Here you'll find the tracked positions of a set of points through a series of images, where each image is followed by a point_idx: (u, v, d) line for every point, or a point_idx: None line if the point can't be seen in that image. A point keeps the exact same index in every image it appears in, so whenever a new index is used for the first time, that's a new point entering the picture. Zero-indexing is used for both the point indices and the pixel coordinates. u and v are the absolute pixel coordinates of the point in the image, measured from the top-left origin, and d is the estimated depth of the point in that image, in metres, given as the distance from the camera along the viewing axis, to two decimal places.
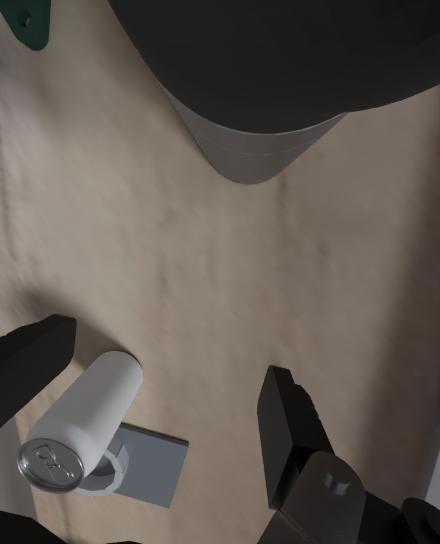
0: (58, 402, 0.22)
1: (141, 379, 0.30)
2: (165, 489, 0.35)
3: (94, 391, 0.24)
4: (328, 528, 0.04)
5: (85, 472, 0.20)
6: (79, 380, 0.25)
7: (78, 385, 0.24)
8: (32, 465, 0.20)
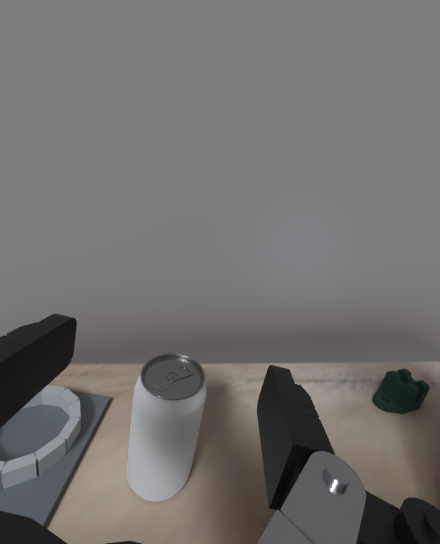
0: None
1: (159, 497, 0.22)
2: None
3: (200, 424, 0.23)
4: (328, 528, 0.04)
5: (165, 402, 0.19)
6: None
7: None
8: (167, 362, 0.23)
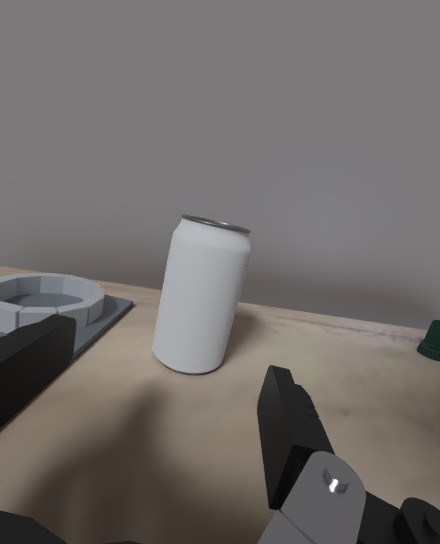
0: None
1: (191, 366, 0.19)
2: None
3: (240, 291, 0.20)
4: (328, 528, 0.04)
5: (211, 229, 0.17)
6: None
7: None
8: None
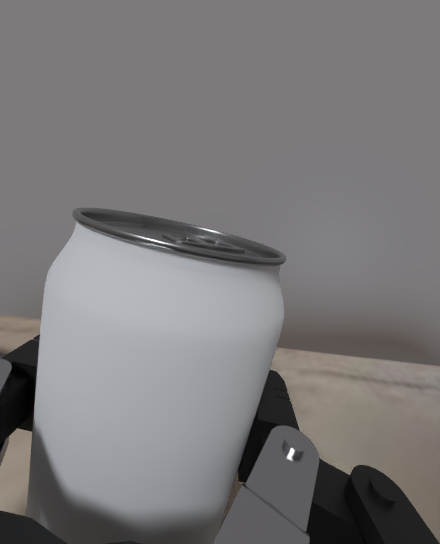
0: None
1: None
2: None
3: None
4: (278, 486, 0.05)
5: (149, 262, 0.04)
6: None
7: None
8: (171, 231, 0.09)
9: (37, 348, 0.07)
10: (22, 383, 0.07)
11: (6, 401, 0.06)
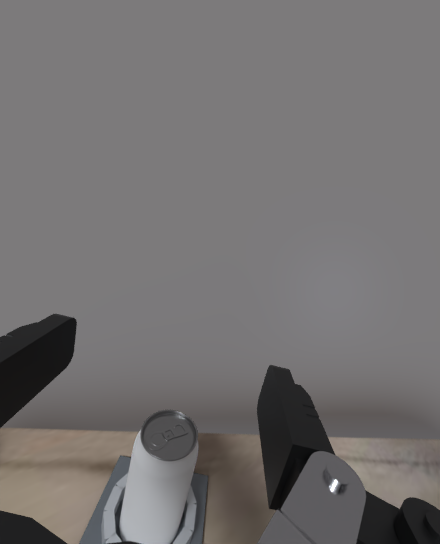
0: None
1: None
2: None
3: (190, 482, 0.25)
4: (328, 528, 0.04)
5: (159, 461, 0.22)
6: None
7: None
8: (165, 419, 0.26)
9: None
10: None
11: None
